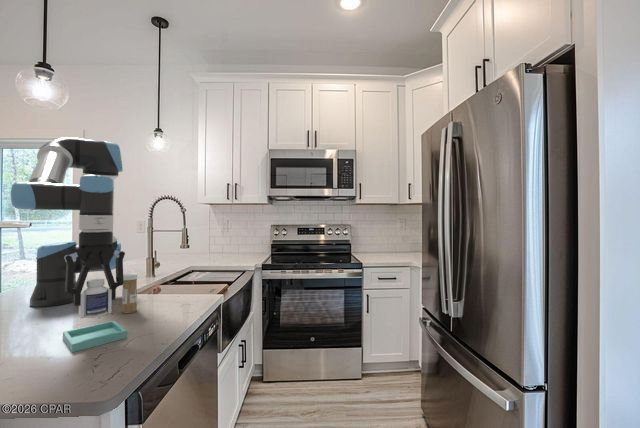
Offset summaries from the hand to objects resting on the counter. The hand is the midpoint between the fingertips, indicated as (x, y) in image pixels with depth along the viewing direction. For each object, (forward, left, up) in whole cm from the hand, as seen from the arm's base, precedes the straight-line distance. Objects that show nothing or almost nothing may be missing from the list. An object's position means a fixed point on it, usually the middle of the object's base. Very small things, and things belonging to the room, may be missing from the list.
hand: (95, 314), depth 82 cm
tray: (0, 0, -7) cm, 7 cm away
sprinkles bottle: (-19, +14, -7) cm, 25 cm away
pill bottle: (0, 0, -1) cm, 1 cm away
